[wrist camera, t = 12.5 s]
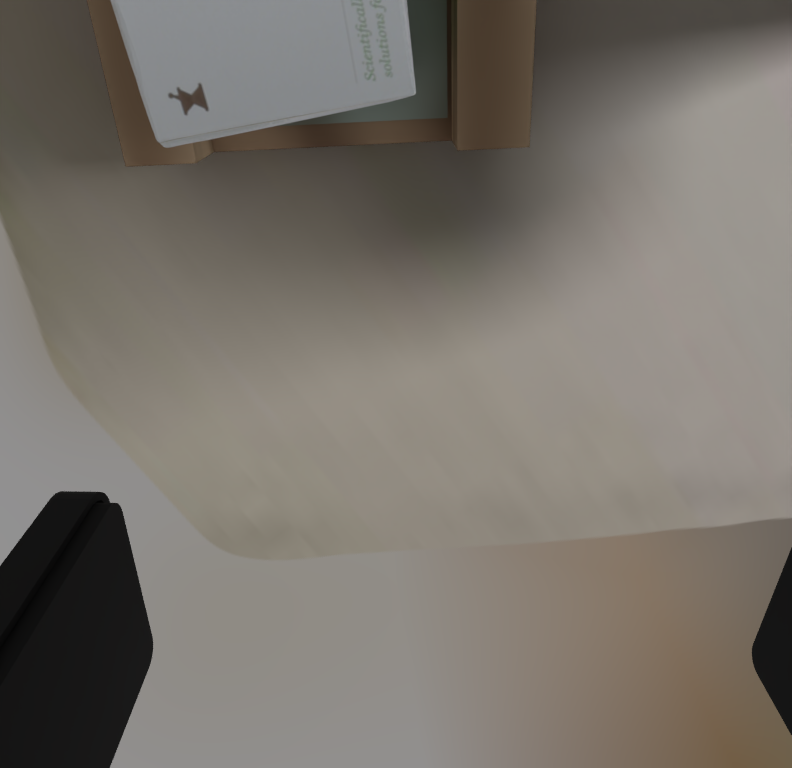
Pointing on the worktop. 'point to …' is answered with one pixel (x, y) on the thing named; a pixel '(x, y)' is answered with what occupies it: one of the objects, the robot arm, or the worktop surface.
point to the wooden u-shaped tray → (384, 123)
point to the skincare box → (262, 61)
